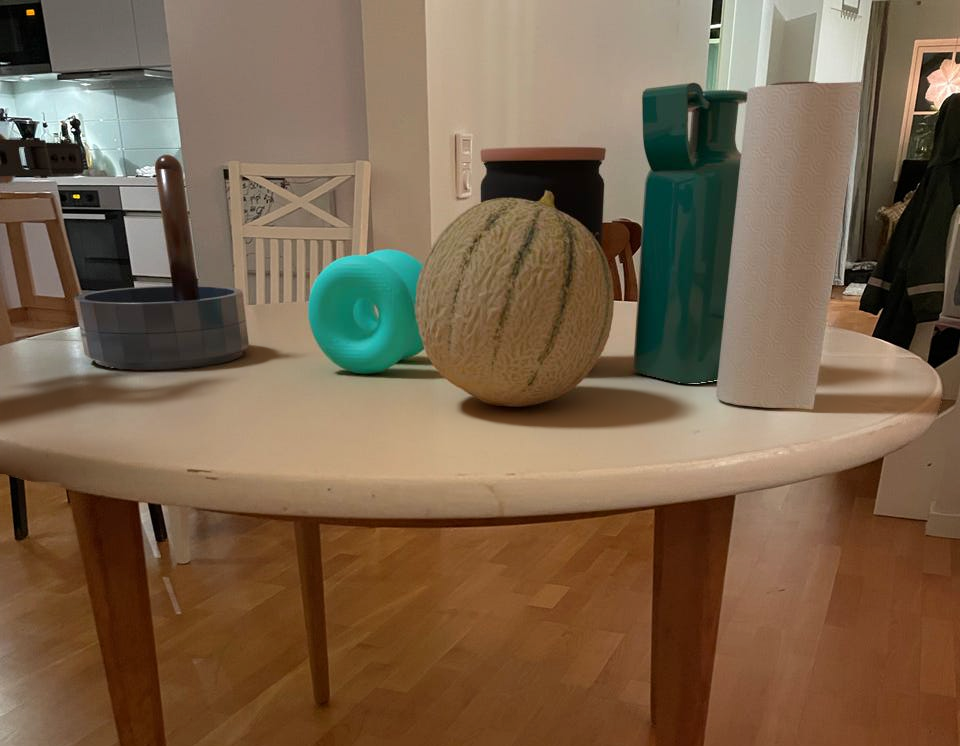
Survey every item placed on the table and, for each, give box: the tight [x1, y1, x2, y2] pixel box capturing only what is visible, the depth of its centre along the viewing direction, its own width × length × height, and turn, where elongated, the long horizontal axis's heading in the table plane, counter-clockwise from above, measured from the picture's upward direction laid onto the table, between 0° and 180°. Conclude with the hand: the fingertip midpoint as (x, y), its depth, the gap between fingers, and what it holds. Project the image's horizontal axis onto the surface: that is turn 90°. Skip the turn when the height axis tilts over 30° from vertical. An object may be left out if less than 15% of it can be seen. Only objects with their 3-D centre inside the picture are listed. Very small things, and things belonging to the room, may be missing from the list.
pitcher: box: [632, 82, 748, 383], centre depth 77 cm, size 10×8×22 cm
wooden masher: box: [154, 154, 200, 301], centre depth 88 cm, size 6×6×17 cm
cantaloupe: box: [415, 190, 615, 408], centre depth 68 cm, size 15×15×15 cm
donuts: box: [307, 249, 425, 375], centre depth 84 cm, size 10×10×10 cm
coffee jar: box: [480, 146, 607, 248], centre depth 82 cm, size 11×11×18 cm
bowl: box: [73, 285, 250, 371], centre depth 91 cm, size 16×16×6 cm
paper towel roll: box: [715, 81, 864, 410], centre depth 67 cm, size 7×6×21 cm
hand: (47, 159), depth 76 cm, fingers open, 8 cm apart
